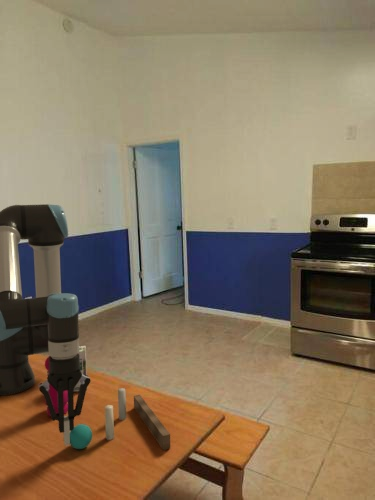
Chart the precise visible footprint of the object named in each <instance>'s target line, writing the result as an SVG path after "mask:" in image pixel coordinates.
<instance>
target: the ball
mask: <svg viewBox="0 0 375 500" xmlns="http://www.w3.org/2000/svg"><path fill="white" fill-rule="evenodd" d="M92 440H93V432H92V429H91V427H90V426H89V425H86V424H83V423H79V424H77V425H74V429H73V430H71V431H70V445H71V447H72V448H74V449H76V450H82V449H85V448H86V447H88V446H89V445H90V443H91V442H92Z"/></svg>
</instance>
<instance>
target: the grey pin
mask: <svg viewBox="0 0 375 500" xmlns="http://www.w3.org/2000/svg"><path fill="white" fill-rule="evenodd" d="M117 400H118V402H117V403H118V405H117V406H118V407H117V408H118V420H120V421H125V420H126V419H127V402H126V401H127V400H126V389H125V387H124V388H123V387H121V388H119V389H117Z"/></svg>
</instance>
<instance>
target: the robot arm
mask: <svg viewBox="0 0 375 500" xmlns="http://www.w3.org/2000/svg"><path fill="white" fill-rule="evenodd" d="M66 217H67V216H66V214H65V210H64V208H63V207H62V206H61V205H58V204H50V203H47V204H15V205H9V206H6V207H5V208H3V209H2V210H0V396H10V395H16V394H19V393H22V392H24V391H27V390H29V389H30V388H32V387H33V386H34V385H35V383H36V376H35V373H34V371H33V368H32V366H31V363H30V361H29V356H31V355H39V354H45V353H46V354H47V353H48V357H49V356H50V357H49V375H48V376H47V378H46V380H45V381H44V382H41V383H39V384H38V389H39V392H40V393H41V394H42V395H43V396H44V401H45V400H46V403H47V405H46V406H47V407H48V409H49V412H50V415H51V416H50V419H51V421H53V422H55V421H58V432H59V433H60V434H63V435H62V436H63V438H62V439H63V444H64V446H70V445H71V444H70V432H71V430H73V429H74V427H75V424H74V423H75V417H78V416H80V415H81V414H82V411H83V410H82V409H83V407H84V406H83V405H84V401H85V397H86V392H87V390H88V386H89V385H90V383H91V379H90V376H89V375H88V374H87V375H86V376H85V375H83V374H82V373H81V371H80V356H79V354H78V353H79V346H80V336H79V335H80V334H79V333H80V332H79V326H80V325H79V310H80V305H79V300H78V296H77V295H76V294H74V293H70V292H69V293H67V292H66V293H65V292H63V293H62V284H61V283H62V282H61V279H62V278H61V277H62V276H61V256H60V255H61V254H60V250H61V249H60V248H61V247H62V246H63V245H64V242H65V239H67V238H68V237H69V229H68V222H67V218H66ZM21 240H22V241H23V240H28V246H29V247H30V248H31V249H32V250H33V261H34V265H33V266H34V285H35V297H30V298H29V297H28V298H23V292H22V290H23V289H22V280H21V279H22V278H21V270H20V268H21V267H20V256H19V255H20V253H19V246H18V245H19V244H20V241H21ZM80 379H81V380H80ZM79 380H80V382H81V385H80V389H79V391H78V394H77V398H76V402H75V403H74V393H75V392H74V388H75V386H76V385H77V383H78V382H79ZM49 384H50V385H51V386H52V387H53V388H54V389H55V390H56V391H57V397H58V413H56V412H55V409H54V406H53V403H52V400H51V397H50V394H49V391H48V390H49ZM86 389H87V390H86ZM66 390H67V398H68V402H67V404H68V411H67V415H66V416H65V414H64V401H63V391H66ZM74 405H75V407H74Z"/></svg>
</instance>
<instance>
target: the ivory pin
mask: <svg viewBox="0 0 375 500" xmlns="http://www.w3.org/2000/svg"><path fill="white" fill-rule="evenodd" d="M104 420H105V439H106V440H107V441H112V440H114V438H115V427H114V424H115V423H114V405H112V404H107V405H105V406H104Z"/></svg>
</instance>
